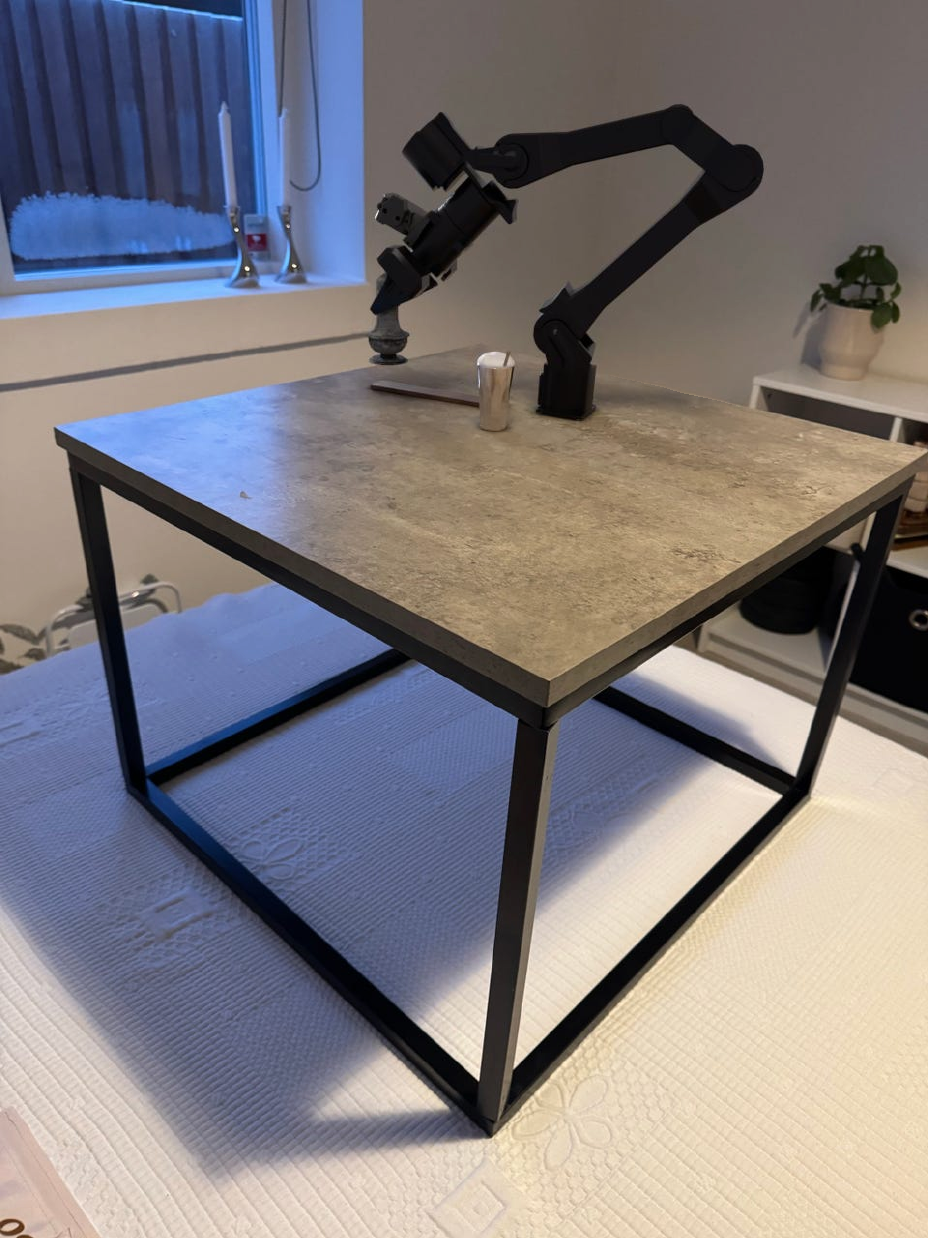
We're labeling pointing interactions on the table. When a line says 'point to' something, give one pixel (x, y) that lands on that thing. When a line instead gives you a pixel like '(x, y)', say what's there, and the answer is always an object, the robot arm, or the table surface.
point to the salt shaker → (387, 335)
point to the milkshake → (494, 389)
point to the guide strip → (426, 392)
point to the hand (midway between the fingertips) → (377, 309)
